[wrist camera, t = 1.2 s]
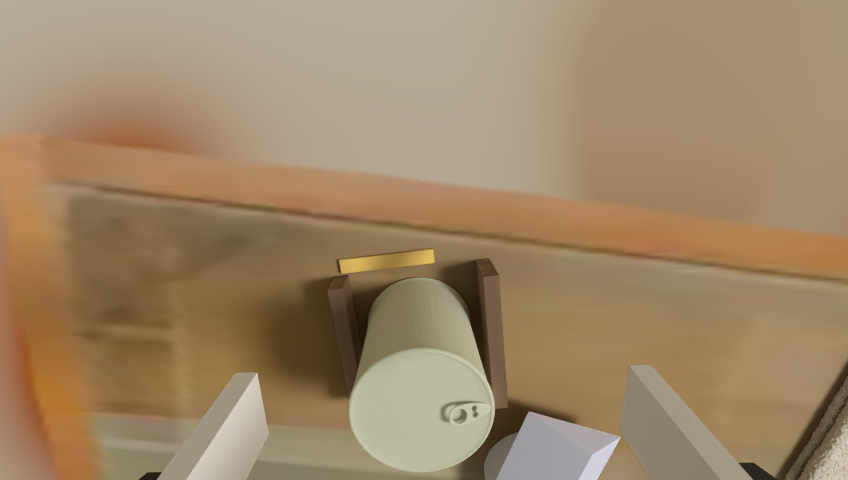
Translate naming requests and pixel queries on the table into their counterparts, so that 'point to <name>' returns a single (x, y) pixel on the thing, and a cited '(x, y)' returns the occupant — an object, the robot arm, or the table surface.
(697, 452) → the robot arm
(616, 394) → the table surface
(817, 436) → the washcloth
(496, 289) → the channel
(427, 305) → the can
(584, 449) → the wedge on round base
